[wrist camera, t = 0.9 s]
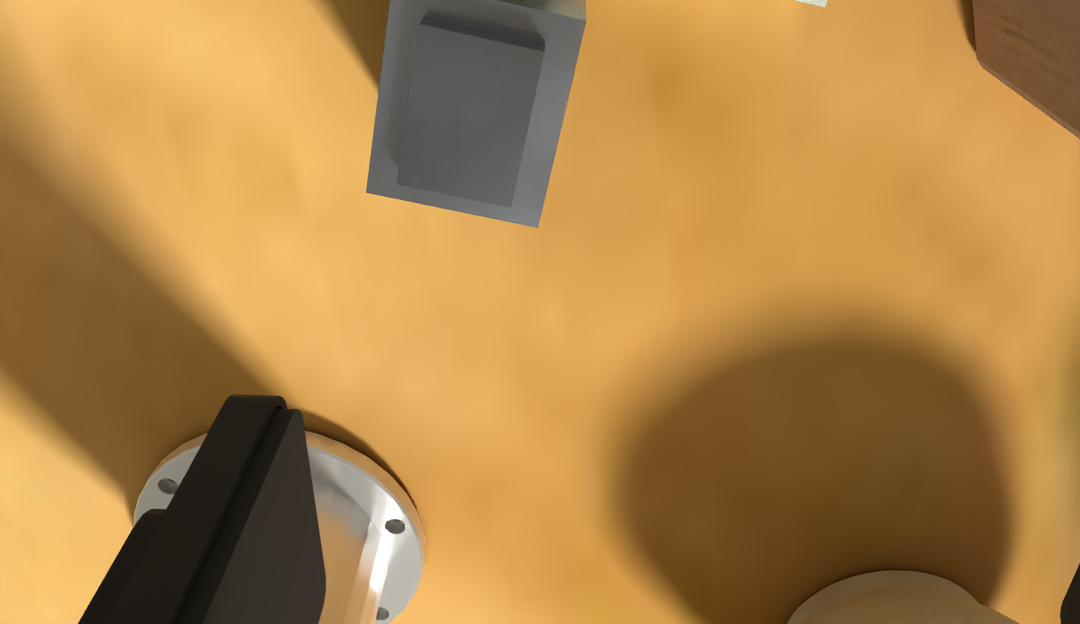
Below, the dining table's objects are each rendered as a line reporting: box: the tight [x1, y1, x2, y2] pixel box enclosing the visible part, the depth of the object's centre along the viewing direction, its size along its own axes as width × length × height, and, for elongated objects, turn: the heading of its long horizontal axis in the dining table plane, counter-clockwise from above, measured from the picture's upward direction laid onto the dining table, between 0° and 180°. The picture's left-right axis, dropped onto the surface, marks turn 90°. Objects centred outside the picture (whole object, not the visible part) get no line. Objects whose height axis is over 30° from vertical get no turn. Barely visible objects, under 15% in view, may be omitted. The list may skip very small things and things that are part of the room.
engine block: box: [366, 0, 586, 228], centre depth 27 cm, size 6×5×7 cm
